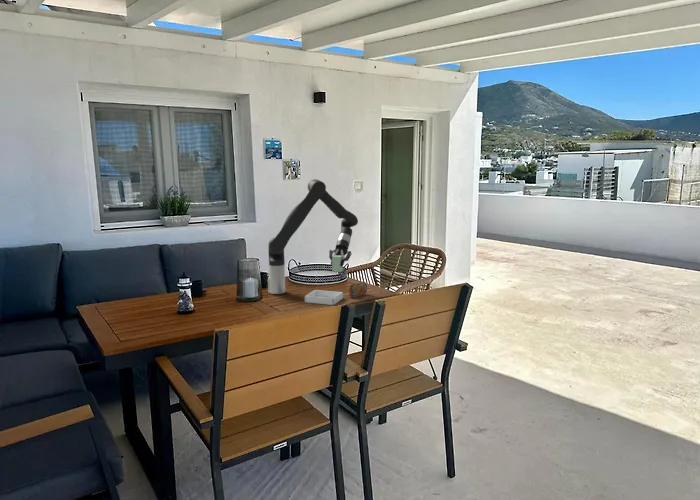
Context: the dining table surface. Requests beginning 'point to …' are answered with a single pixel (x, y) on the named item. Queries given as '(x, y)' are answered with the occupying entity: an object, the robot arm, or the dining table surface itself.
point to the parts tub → (323, 297)
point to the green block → (336, 263)
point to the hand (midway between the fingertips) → (336, 265)
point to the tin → (357, 289)
